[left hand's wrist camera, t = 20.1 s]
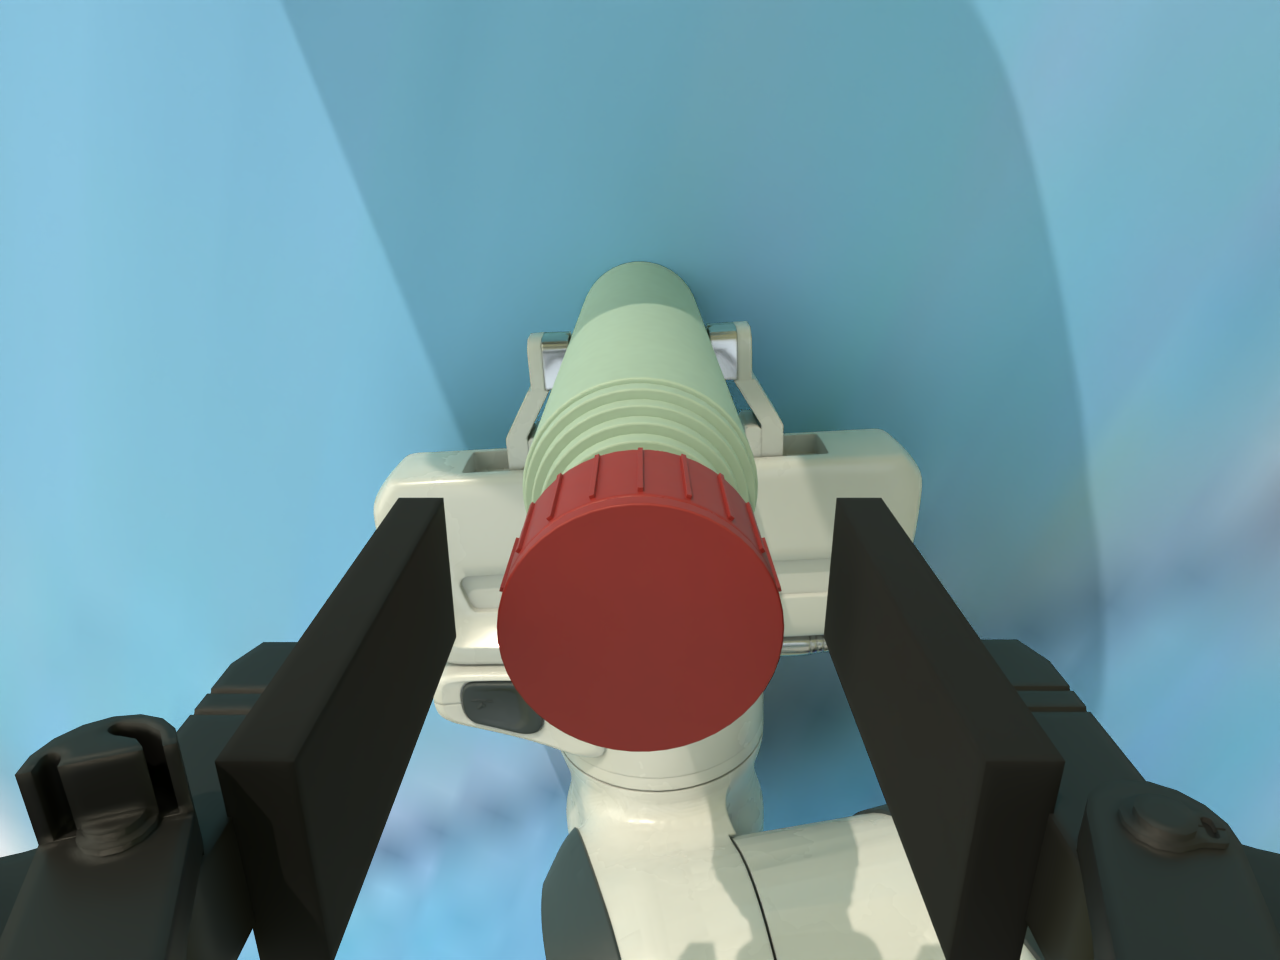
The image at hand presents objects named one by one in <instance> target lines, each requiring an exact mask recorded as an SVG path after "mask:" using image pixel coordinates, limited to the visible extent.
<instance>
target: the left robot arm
mask: <svg viewBox="0 0 1280 960" xmlns="http://www.w3.org/2000/svg"><path fill="white" fill-rule="evenodd" d="M455 639H456V627H455V616H454V605H453V595H452V584H451V573H450V562H449V552H448V541H447V530H446V519H445V509H444V498H398V499H397V501H396V502H395V504H394V505H393V506H392V508H391V509H390V511H389V512H388V514H387V515H386V517H385V518H384V519H383V521H382V522H381V524H380V525H379V527H378V528H377V529H376V531H375V532H374V534H373V535H372V537H371V538H370V539H369V541H368V542H367V544H366V545H365V547H364V548H363V549H362V551H361V552H360V554H359V555H358V557H357V558H356V559H355V561H354V562H353V564H352V565H351V567H350V568H349V569H348V571H347V572H346V574H345V575H344V577H343V578H342V580H341V581H340V582H339V584H338V585H337V587H336V588H335V590H334V591H333V592H332V594H331V595H330V597H329V598H328V600H327V601H326V602H325V604H324V605H323V607H322V608H321V610H320V611H319V612H318V614H317V615H316V617H315V618H314V620H313V621H312V622H311V624H310V625H309V627H308V628H307V630H306V631H305V632H304V634H303V635H302V637H301V638H300V640H299V641H298V642H263V643H262V644H260V645H259V646H257V647H256V648H254V649H253V650H251V651H250V652H248V653H247V654H245V655H244V656H242V657H241V658H239V659H238V660H236V661H235V662H233V663H232V664H231V665H230V666H229V667H228V668H227V670H226V671H225V672H224V673H223V675H222V676H221V677H220V678H219V680H218V681H217V682H216V683H215V685H214V686H213V687H212V688H211V694H207V695H206V696H205V697H204V698H203V700H202V701H201V702H200V703H199V705H198V706H197V707H196V708H195V712H194V715H190V716H189V717H188V718H187V720H186V721H185V722H184V723H183V725H182V726H181V727H180V728H179V730H178V731H177V732H176V730H175V728H174V727H173V726H172V725H170V724H169V723H168V722H167V721H165V720H164V719H163V718H158V717H153V716H147V715H142V714H139V715H127V716H115V717H110V718H107V719H103V720H100V721H96V722H92V723H89V724H85V725H82V726H80V727H78V728H76V729H74V730H72V731H69V732H67V733H65V734H63V735H61V736H59V737H57V738H54V739H53V740H52V741H50V742H49V743H47V744H46V745H45V746H43V747H42V748H40V749H39V750H38V751H36V752H35V753H33V754H32V755H31V756H30V757H29V758H28V759H27V760H26V762H25V763H24V764H23V765H22V767H21V768H20V769H19V770H18V772H17V773H16V774H15V777H16V780H17V783H18V786H19V788H20V791H21V794H22V797H23V800H24V803H25V806H26V809H27V812H28V815H29V818H30V821H31V824H32V827H33V830H34V833H35V835H36V838H37V841H38V844H39V846H38V848H37V849H33V850H30V851H26V852H23V853H18V854H14V855H9V856H5V857H1V858H0V960H237V959H238V957H239V955H240V953H241V951H242V949H243V947H244V945H245V943H246V941H247V939H248V937H249V935H250V933H251V931H252V929H253V931H254V935H255V940H256V944H257V948H258V953H259V957H260V960H334V959H335V956H336V954H337V951H338V948H339V946H340V943H341V940H342V938H343V935H344V932H345V930H346V927H347V925H348V922H349V919H350V917H351V914H352V911H353V909H354V906H355V903H356V901H357V898H358V896H359V893H360V890H361V888H362V885H363V882H364V880H365V877H366V874H367V872H368V869H369V866H370V864H371V861H372V859H373V856H374V853H375V851H376V848H377V845H378V843H379V840H380V837H381V835H382V832H383V830H384V827H385V824H386V822H387V819H388V816H389V814H390V811H391V808H392V806H393V803H394V800H395V798H396V795H397V793H398V790H399V787H400V785H401V782H402V779H403V777H404V774H405V771H406V769H407V766H408V763H409V761H410V758H411V756H412V753H413V750H414V748H415V745H416V742H417V740H418V737H419V734H420V732H421V729H422V727H423V724H424V721H425V719H426V716H427V713H428V711H429V708H430V705H431V703H432V700H433V697H434V695H435V692H436V690H437V687H438V684H439V682H440V679H441V676H442V674H443V671H444V668H445V666H446V663H447V661H448V658H449V655H450V653H451V650H452V647H453V645H454V642H455ZM824 639H825V642H826V645H827V647H828V650H829V653H830V655H831V658H832V661H833V663H834V666H835V668H836V671H837V674H838V676H839V679H840V682H841V684H842V687H843V690H844V692H845V695H846V697H847V700H848V703H849V705H850V708H851V711H852V713H853V716H854V719H855V721H856V724H857V727H858V729H859V732H860V734H861V737H862V740H863V742H864V745H865V748H866V750H867V753H868V756H869V758H870V761H871V763H872V766H873V769H874V771H875V774H876V777H877V779H878V782H879V785H880V787H881V790H882V793H883V795H884V798H885V800H886V803H887V806H888V808H889V811H890V814H891V816H892V819H893V822H894V824H895V827H896V830H897V832H898V835H899V837H900V840H901V843H902V845H903V848H904V851H905V853H906V856H907V859H908V861H909V864H910V866H911V869H912V872H913V874H914V877H915V880H916V882H917V885H918V888H919V890H920V893H921V896H922V898H923V901H924V903H925V906H926V909H927V911H928V914H929V917H930V919H931V922H932V925H933V927H934V930H935V932H936V935H937V938H938V940H939V943H940V946H941V948H942V951H943V954H944V956H945V959H946V960H1020V957H1021V953H1022V948H1023V944H1024V940H1025V935H1026V931H1027V927H1028V926H1029V928H1030V930H1031V932H1032V934H1033V936H1034V938H1035V940H1036V942H1037V944H1038V946H1039V948H1040V950H1041V952H1042V954H1043V956H1044V958H1045V960H1280V854H1278V853H1273V852H1269V851H1264V850H1260V849H1256V848H1253V847H1249V846H1246V845H1242V844H1241V843H1240V841H1239V840H1238V838H1237V837H1236V835H1235V834H1234V832H1233V831H1232V829H1231V828H1230V826H1229V825H1228V824H1227V823H1226V822H1225V821H1224V820H1222V819H1221V818H1220V817H1219V816H1218V815H1216V814H1215V813H1214V812H1213V811H1211V810H1210V809H1209V808H1208V807H1207V806H1205V805H1204V804H1202V803H1200V802H1198V801H1196V800H1194V799H1192V798H1190V797H1188V796H1187V795H1185V794H1183V793H1181V792H1179V791H1177V790H1174V789H1171V788H1167V787H1164V786H1161V785H1158V784H1155V783H1151V782H1148V781H1145V779H1144V778H1143V777H1142V776H1141V774H1140V773H1139V772H1138V771H1137V769H1136V768H1135V767H1134V766H1133V764H1132V763H1131V762H1130V761H1129V759H1128V758H1127V757H1126V756H1125V754H1124V753H1123V752H1122V751H1121V749H1120V748H1119V747H1118V746H1117V744H1116V743H1115V742H1114V741H1113V739H1112V738H1111V737H1110V736H1109V735H1108V733H1107V732H1106V731H1105V730H1104V728H1103V727H1102V726H1101V725H1100V723H1099V722H1098V721H1097V720H1096V718H1095V717H1094V716H1093V715H1092V713H1091V712H1087V711H1086V706H1085V705H1084V703H1083V702H1082V701H1081V700H1080V698H1079V697H1078V696H1077V695H1076V694H1075V692H1074V691H1070V689H1069V685H1068V684H1067V682H1066V681H1065V680H1064V679H1063V677H1062V676H1061V675H1060V674H1059V672H1058V671H1057V670H1056V669H1055V667H1054V666H1053V665H1052V664H1051V662H1050V661H1049V660H1047V659H1046V658H1044V657H1043V656H1041V655H1040V654H1038V653H1036V652H1035V651H1033V650H1032V649H1030V648H1029V647H1027V646H1026V645H1024V644H1023V643H1021V642H1020V641H1018V640H980V638H979V637H978V635H977V634H976V632H975V631H974V630H973V628H972V627H971V625H970V624H969V622H968V621H967V620H966V618H965V617H964V615H963V614H962V612H961V611H960V610H959V608H958V607H957V605H956V604H955V602H954V601H953V600H952V598H951V597H950V595H949V594H948V592H947V591H946V590H945V588H944V587H943V585H942V584H941V582H940V581H939V580H938V578H937V577H936V575H935V574H934V572H933V571H932V569H931V568H930V567H929V565H928V564H927V562H926V561H925V559H924V558H923V557H922V555H921V554H920V552H919V551H918V549H917V548H916V547H915V545H914V544H913V542H912V541H911V539H910V538H909V537H908V535H907V534H906V532H905V531H904V529H903V528H902V527H901V525H900V524H899V522H898V521H897V519H896V518H895V517H894V515H893V514H892V512H891V511H890V509H889V508H888V506H887V505H886V504H885V502H884V501H883V499H882V498H836V509H835V519H834V530H833V541H832V552H831V562H830V573H829V584H828V595H827V605H826V616H825V627H824Z"/></svg>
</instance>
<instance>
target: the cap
mask: <svg viewBox="0 0 1280 960" xmlns="http://www.w3.org/2000/svg"><path fill="white" fill-rule="evenodd" d="M499 591H500V592H502V595H501V600H500V604H499V608H498V616H497V638H498V646H499V650H500V655H501V659H502V661H503V664H504V667H505V669H506V672H507V674H508V676H509V678H510V680H511V681H512V683H513V685H514V687H515V689H516V690H517V691H518V693H519V694H520V695H521V697H522V698H523V699H524V701H525V702H526V703H527V704H528V705H529V706H530V707H531V708H532V709H533V710H534V711H535V712H536V713H537V714H538V715H539V716H540V717H542V718H543V719H544V720H545V721H547V722H548V723H549V724H551V725H552V726H554V727H555V728H557V729H559V730H560V731H562V732H564V733H565V734H567V735H570V736H572V737H574V738H576V739H578V740H580V741H583V742H586V743H589V744H592V745H595V746H599V747H603V748H608V749H612V750H620V751H629V752H651V751H661V750H668V749H673V748H678V747H682V746H686V745H689V744H692V743H695V742H698V741H701V740H703V739H705V738H707V737H709V736H711V735H714V734H716V733H717V732H719V731H721V730H722V729H724V728H726V727H727V726H729V725H730V724H732V723H733V722H734V721H736V720H737V719H738V718H739V717H741V716H742V715H743V714H744V713H745V712H746V711H747V710H748V709H749V708H750V707H751V706H752V705H753V704H754V703H755V702H756V701H757V699H758V698H759V697H760V695H761V694H762V693H763V691H764V690H765V689H766V687H767V685H768V683H769V681H770V680H771V678H772V676H773V674H774V672H775V669H776V667H777V664H778V662H779V659H780V655H781V650H782V646H783V638H784V615H783V608H782V604H781V599H780V595H779V592H780V591H782V590H781V586H780V583H779V580H778V577H777V573H776V570H775V567H774V564H773V561H772V558H771V555H770V552H769V549H768V546H767V543H766V540H765V537H763V538H761V535H760V532H759V529H758V526H757V523H756V519H755V516H754V513H753V510H752V507H751V504H750V503H749V502H747V503H746V502H745V501H744V500H743V498H742V497H741V496H740V495H739V493H738V492H737V491H736V490H735V489H734V488H733V487H732V486H731V485H730V484H729V483H728V482H727V481H726V480H725V479H724V475H723V474H721V473H719V474H717V473H715V472H714V471H713V470H711V469H709V468H707V467H706V466H704V465H702V464H700V463H698V462H696V461H694V460H691V459H689V458H686V455H684V454H681V456H680V455H676V454H672V453H669V452H663V451H655V450H643V448H638V450H626V451H617V452H612V453H608V454H604V455H601V456H600V454H597V455H595V457H594V458H592V459H590V460H587V461H585V462H583V463H581V464H579V465H577V466H575V467H573V468H572V469H570V470H568V471H567V472H565V473H564V474H563V475H562V474H561V473H560V474H558V475H557V478H556V480H555V481H554V482H553V483H552V484H551V485H550V486H549V487H548V488H547V489H546V490H545V491H544V492H543V493H542V494H541V496H540V497H539V498H538V500H537V501H536V502H535V503H533V502H532V503H531V504H530V506H529V509H528V512H527V516H526V519H525V522H524V525H523V528H522V531H521V534H520V537H519V538H517V537H516V539H515V542H514V546H513V549H512V552H511V555H510V558H509V561H508V564H507V567H506V570H505V573H504V577H503V580H502V583H501V586H500V590H499Z"/></svg>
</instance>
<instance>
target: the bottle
mask: <svg viewBox="0 0 1280 960" xmlns="http://www.w3.org/2000/svg"><path fill="white" fill-rule="evenodd" d="M638 448H643V450H655V451H663V452H669V453H672V454H676V455H680V456H681V454H684V455H686V458H689V459H691V460H694V461H696V462H698V463H700V464H702V465H704V466H706V467H707V468H709V469H711V470H713V471H714V472H715V473H717V474H719V473H721V474H723V475H724V479H725V480H726V481H727V482H728V483H729V484H730V485H731V486H732V487H733V488H734V489H735V490H736V491H737V492H738V493H739V495H740V496H741V497H742V498H743V500H744V501H745V502H746V503H747V502H749V503H750V504H751V507H752V510H753V513H754V512H755V507H756V502H757V495H758V478H757V468H756V464H755V460H754V456H753V453H752V450H751V448H750V445H749V442H748V440H747V437H746V434H745V432H744V429H743V426H742V424H741V421H740V418H739V416H738V413H737V410H736V408H735V405H734V402H733V400H732V397H731V394H730V392H729V389H728V386H727V384H726V381H725V379H724V376H723V373H722V371H721V368H720V365H719V363H718V360H717V357H716V355H715V352H714V349H713V347H712V344H711V341H710V339H709V336H708V333H707V331H706V328H705V325H704V323H703V320H702V317H701V315H700V312H699V309H698V307H697V304H696V301H695V299H694V296H693V294H692V292H691V291H690V289H689V287H688V286H687V285H686V283H685V282H684V281H683V280H682V279H681V278H680V277H679V276H678V275H677V274H675V273H674V272H673V271H671V270H669V269H667V268H666V267H663V266H661V265H658V264H654V263H650V262H630V263H625V264H622V265H619V266H617V267H614V268H612V269H611V270H609V271H607V272H606V273H605V274H603V275H602V276H601V277H600V278H599V279H598V280H597V281H596V282H595V283H594V285H593V286H592V287H591V289H590V291H589V292H588V294H587V296H586V299H585V302H584V304H583V307H582V310H581V312H580V315H579V318H578V320H577V323H576V326H575V328H574V331H573V334H572V337H571V339H570V342H569V345H568V347H567V350H566V353H565V355H564V358H563V361H562V363H561V366H560V369H559V372H558V374H557V377H556V380H555V382H554V385H553V388H552V390H551V393H550V396H549V398H548V401H547V404H546V406H545V409H544V412H543V415H542V417H541V420H540V423H539V425H538V428H537V431H536V433H535V436H534V439H533V441H532V444H531V447H530V450H529V452H528V455H527V458H526V463H525V467H524V472H523V500H524V505H525V509H526V514H527V512H528V509H529V506H530V504H531V503H532V502H533V503H535V502H536V501H537V500H538V498H539V497H540V496H541V494H542V493H543V492H544V491H545V490H546V489H547V488H548V487H549V486H550V485H551V484H552V483H553V482H554V481H555V480H556V478H557V475H558V474H560V473H561V474H562V475H563V474H564V473H565V472H567V471H568V470H570V469H572V468H573V467H575V466H577V465H579V464H581V463H583V462H585V461H587V460H590V459H592V458H594V457H595V455H597V454H600V456H601V455H604V454H608V453H612V452H617V451H626V450H638Z"/></svg>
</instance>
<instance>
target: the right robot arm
mask: <svg viewBox="0 0 1280 960" xmlns="http://www.w3.org/2000/svg"><path fill="white" fill-rule="evenodd" d="M706 330H707V333H708V336H709V339H710V341H711V344H712V347H713V349H714V352H715V355H716V357H717V360H718V363H719V365H720V368H721V371H722V373H723V376H724V379H725V380H734V382H735V383H736V385H737V387H738V388H739V390H740V391H741V393H742V395H743V396H744V398H745V400H746V401H747V403H748V404H749V406H750V408H751V409H752V410H742V411H741V412H739V418H740V421H741V424H742V426H743V429H744V432H745V434H746V437H747V440H748V442H749V445H750V448H751V450H752V453H753V456H754V460H755V464H756V468H757V478H758V495H757V502H756V507H755V512H754V516H755V519H756V523H757V526H758V529H759V532H760V535H761V538H763V537H765V540H766V543H767V546H768V549H769V552H770V555H771V558H772V561H773V564H774V567H775V570H776V573H777V577H778V580H779V583H780V586H781V590H782V591H780V592H779V595H780V599H781V604H782V608H783V615H784V638H783V646H782V650H781V655H780V657H786V656H802V655H809V654H815V653H822V652H829V650H828V647H827V645H826V642H825V639H824V627H825V616H826V605H827V595H828V584H829V573H830V562H831V552H832V541H833V530H834V519H835V509H836V498H882V499H883V501H884V502H885V504H886V505H887V506H888V508H889V509H890V511H891V512H892V514H893V515H894V517H895V518H896V519H897V521H898V522H899V524H900V525H901V527H902V528H903V529H904V531H905V532H906V534H907V535H908V537H909V538H910V539H911V541H912V542H913V541H914V537H915V532H916V526H917V520H918V514H919V507H920V500H921V492H922V476H921V472H920V470H919V468H918V466H917V464H916V463H915V461H914V460H913V458H912V457H911V456H910V454H909V453H908V452H907V451H906V449H905V448H904V447H903V446H902V445H901V444H900V443H898V442H897V441H896V440H895V439H894V438H893V437H892V436H891V435H889V434H888V433H887V432H885V431H884V430H881V429H857V430H839V431H820V432H801V433H783V423H782V421H781V419H780V417H779V415H778V413H777V411H776V409H775V408H774V406H773V404H772V403H771V401H770V399H769V398H768V396H767V395H766V393H765V391H764V390H763V388H762V386H761V385H760V383H759V382H758V380H757V378H756V377H755V375H754V373H753V372H752V336H751V328H750V325H749V324H748V322H747V321H739V322H722V323H708V324H707V327H706ZM571 337H572V335H571V331H567V332H545V333H544V332H539V333H531V334H530V336H529V338H528V341H527V355H528V364H529V374H530V383H531V386H530V388H529V390H528V392H527V394H526V396H525V399H524V401H523V403H522V405H521V407H520V409H519V411H518V414H517V416H516V418H515V420H514V422H513V424H512V427H511V429H510V431H509V433H508V435H507V437H506V446H507V448H499V449H480V450H462V451H443V452H422V453H413V454H410V455H408V456H406V457H405V458H404V459H403V460H402V461H401V462H400V463H399V464H398V466H397V467H396V468H395V469H394V470H393V471H392V472H391V473H390V475H389V476H388V477H387V479H386V480H385V482H384V483H383V485H382V486H381V488H380V490H379V491H378V494H377V496H376V499H375V503H374V519H375V525H376V529H377V528H378V527H379V525H380V524H381V522H382V521H383V519H384V518H385V517H386V515H387V514H388V512H389V511H390V509H391V508H392V506H393V505H394V504H395V502H396V501H397V499H398V498H444V509H445V519H446V530H447V541H448V552H449V562H450V573H451V584H452V595H453V605H454V616H455V627H456V639H455V642H454V645H453V647H452V650H451V653H450V655H449V658H448V661H447V663H446V666H445V668H444V671H443V674H442V676H441V679H440V682H439V684H438V687H437V690H436V692H435V695H434V703H435V707H436V709H437V711H438V713H439V714H440V715H441V716H442V717H443V718H445V719H447V720H449V721H451V722H454V723H457V724H461V725H466V726H470V727H475V728H480V729H485V730H489V731H494V732H498V733H503V734H507V735H511V736H515V737H519V738H523V739H526V740H530V741H534V742H537V743H540V744H543V745H547V746H550V747H553V748H555V749H558V750H561V752H562V755H563V757H564V759H565V761H566V763H567V765H568V768H569V770H570V772H571V784H570V787H569V792H568V796H567V808H566V813H567V825H568V833H569V835H568V836H567V837H566V839H565V840H564V842H563V844H562V845H561V847H560V849H559V851H558V853H557V855H556V857H555V859H554V862H553V864H552V866H551V868H550V870H549V872H548V874H547V876H546V879H545V881H544V883H543V888H542V901H541V916H542V932H543V941H544V948H545V955H546V960H946V959H945V956H944V954H943V951H942V948H941V946H940V943H939V940H938V938H937V935H936V932H935V930H934V927H933V925H932V922H931V919H930V917H929V914H928V911H927V909H926V906H925V903H924V901H923V898H922V896H921V893H920V890H919V888H918V885H917V882H916V880H915V877H914V874H913V872H912V869H911V866H910V864H909V861H908V859H907V856H906V853H905V851H904V848H903V845H902V843H901V840H900V837H899V835H898V832H897V830H896V827H895V824H894V822H893V819H892V816H891V814H890V811H889V808H888V806H887V804H885V805H882V806H878V807H874V808H871V809H867V810H864V811H860V812H858V813H856V814H855V815H853V816H850V817H844V818H838V819H832V820H827V821H821V822H815V823H809V824H804V825H798V826H792V827H786V828H781V829H775V830H769V831H763V819H764V806H763V796H762V790H761V787H760V783H759V780H758V778H757V775H756V772H755V769H754V764H755V760H756V758H757V755H758V753H759V749H760V746H761V742H762V737H763V693H762V694H761V695H760V697H759V698H758V699H757V701H756V702H755V703H754V704H753V705H752V706H751V707H750V708H749V709H748V710H747V711H746V712H745V713H744V714H743V715H742V716H741V717H739V718H738V719H737V720H736V721H734V722H733V723H732V724H730V725H729V726H727V727H726V728H724V729H722V730H721V731H719V732H717V733H716V734H714V735H711V736H709V737H707V738H705V739H703V740H701V741H698V742H695V743H692V744H689V745H686V746H682V747H678V748H673V749H668V750H661V751H651V752H629V751H620V750H612V749H608V748H603V747H599V746H595V745H592V744H589V743H586V742H583V741H580V740H578V739H576V738H574V737H572V736H570V735H567V734H565V733H564V732H562V731H560V730H559V729H557V728H555V727H554V726H552V725H551V724H549V723H548V722H547V721H545V720H544V719H543V718H542V717H540V716H539V715H538V714H537V713H536V712H535V711H534V710H533V709H532V708H531V707H530V706H529V705H528V704H527V703H526V702H525V701H524V699H523V698H522V697H521V695H520V694H519V693H518V691H517V690H516V689H515V687H514V685H513V683H512V681H511V680H510V678H509V676H508V674H507V672H506V669H505V667H504V664H503V661H502V659H501V655H500V650H499V646H498V638H497V616H498V608H499V604H500V600H501V595H502V592H500V591H499V590H500V586H501V583H502V580H503V577H504V573H505V570H506V567H507V564H508V561H509V558H510V555H511V552H512V549H513V546H514V542H515V539H516V537H517V538H519V537H520V534H521V531H522V528H523V525H524V522H525V519H526V516H527V514H526V509H525V505H524V500H523V472H524V467H525V463H526V458H527V455H528V452H529V450H530V447H531V444H532V441H533V439H534V436H535V433H536V431H537V428H538V425H539V423H540V421H537V422H536V423H535V424H534V422H535V420H536V418H537V416H538V414H539V412H540V409H541V407H542V405H543V403H544V401H545V399H546V397H547V394H548V392H549V390H552V388H553V385H554V382H555V380H556V377H557V374H558V372H559V369H560V366H561V363H562V361H563V358H564V355H565V353H566V350H567V347H568V345H569V342H570V339H571ZM1020 960H1045V958H1044V956H1043V954H1042V952H1041V950H1040V948H1039V946H1038V944H1037V942H1036V940H1035V938H1034V936H1033V934H1032V932H1031V930H1030V928H1029V926H1028V927H1027V931H1026V935H1025V940H1024V944H1023V948H1022V953H1021V957H1020Z"/></svg>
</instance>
